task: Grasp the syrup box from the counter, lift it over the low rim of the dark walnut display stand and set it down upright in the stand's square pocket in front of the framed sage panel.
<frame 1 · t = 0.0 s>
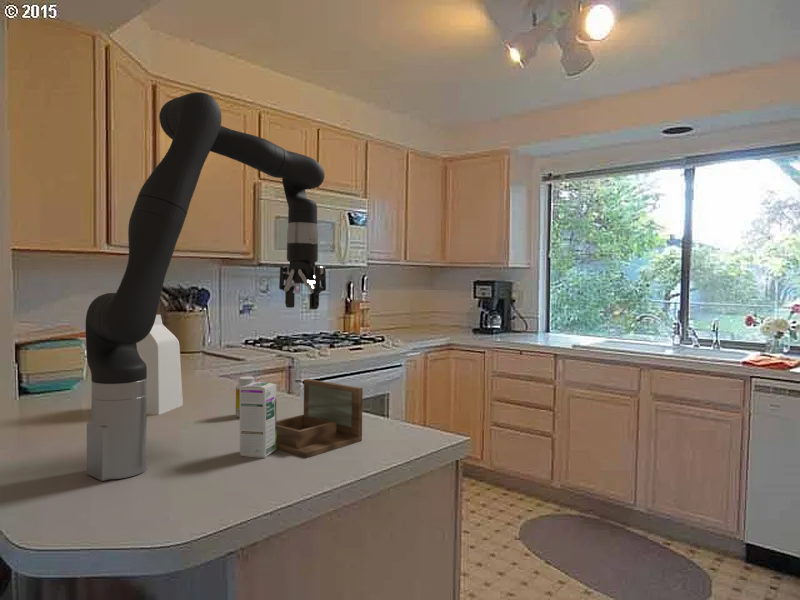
hand: (301, 308, 141), 29 cm above the countertop, fingers open, 8 cm apart
display stand: (301, 442, 127), on the countertop
supplement bottle: (246, 416, 152), on the countertop
syrup box: (258, 454, 119), on the countertop
milk: (152, 409, 159), on the countertop
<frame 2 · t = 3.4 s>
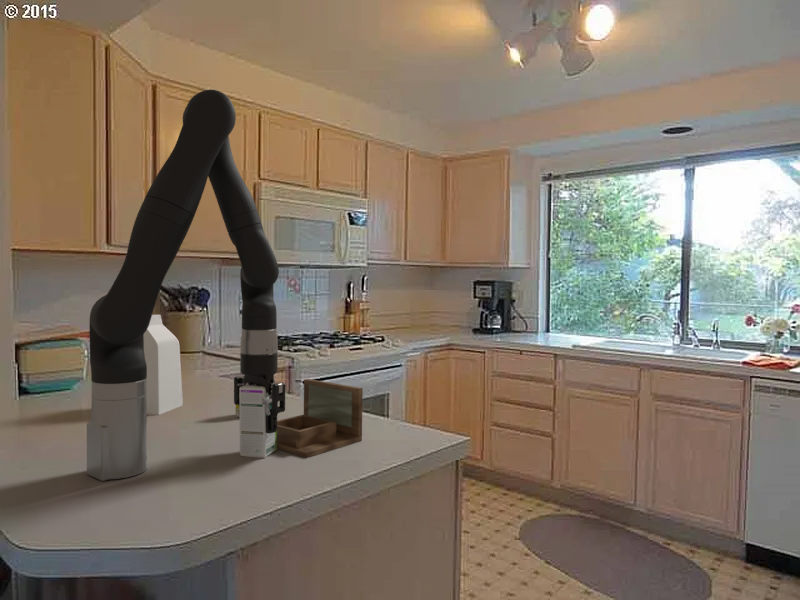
hand: (258, 429, 119), 5 cm above the countertop, fingers closed on syrup box, 7 cm apart
syrup box: (258, 454, 119), on the countertop, touching gripper
everything else where it was.
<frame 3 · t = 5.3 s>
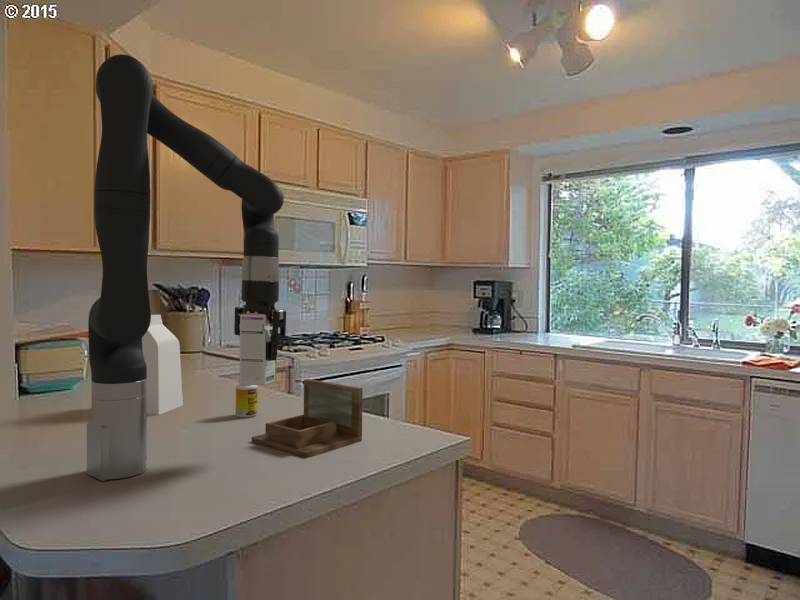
hand: (258, 358, 119), 20 cm above the countertop, fingers closed on syrup box, 7 cm apart
syrup box: (257, 383, 119), point 15 cm above the countertop, touching gripper
everything else where it was.
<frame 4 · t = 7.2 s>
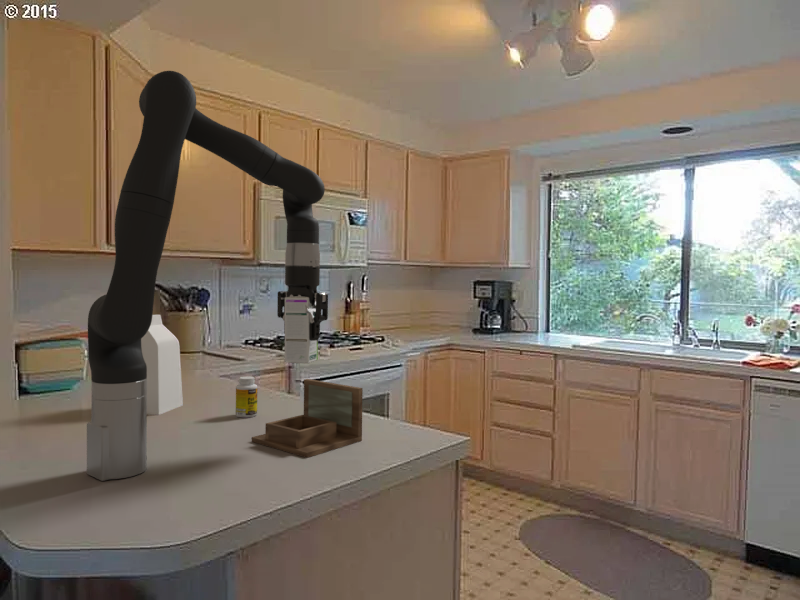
hand: (301, 338, 127), 23 cm above the countertop, fingers closed on syrup box, 7 cm apart
syrup box: (301, 362, 127), point 18 cm above the countertop, touching gripper
everything else where it was.
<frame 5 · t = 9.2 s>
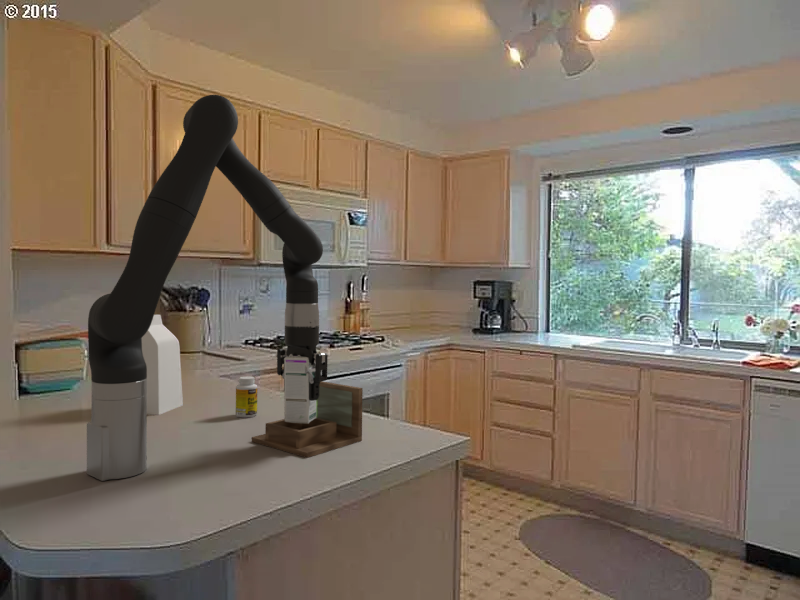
hand: (301, 397, 127), 10 cm above the countertop, fingers closed on syrup box, 7 cm apart
syrup box: (300, 421, 127), point 5 cm above the countertop, touching gripper
everything else where it was.
when the fingers open (8 cm above the countertop, at t = 10.9 s): syrup box drops 2 cm, resting on display stand.
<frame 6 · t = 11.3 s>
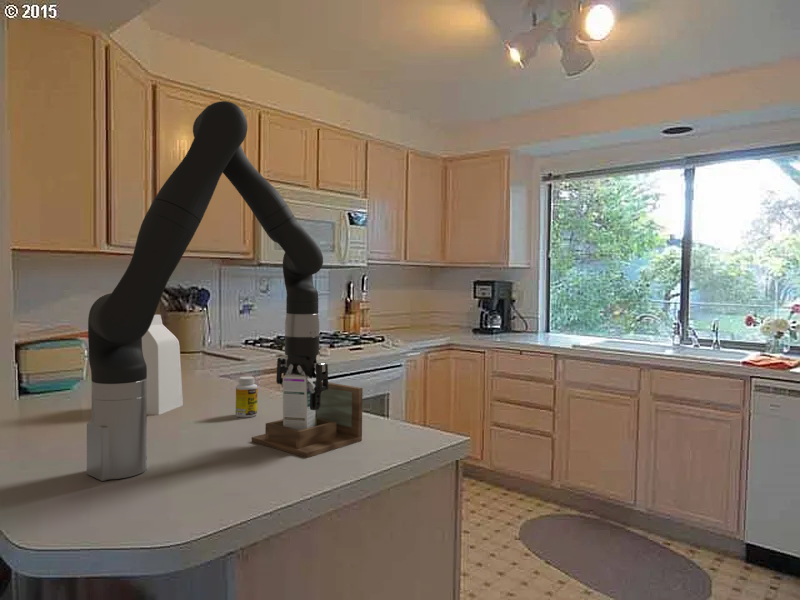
hand: (301, 406, 127), 8 cm above the countertop, fingers open, 8 cm apart
syrup box: (299, 439, 127), point 1 cm above the countertop, touching display stand
everything else where it was.
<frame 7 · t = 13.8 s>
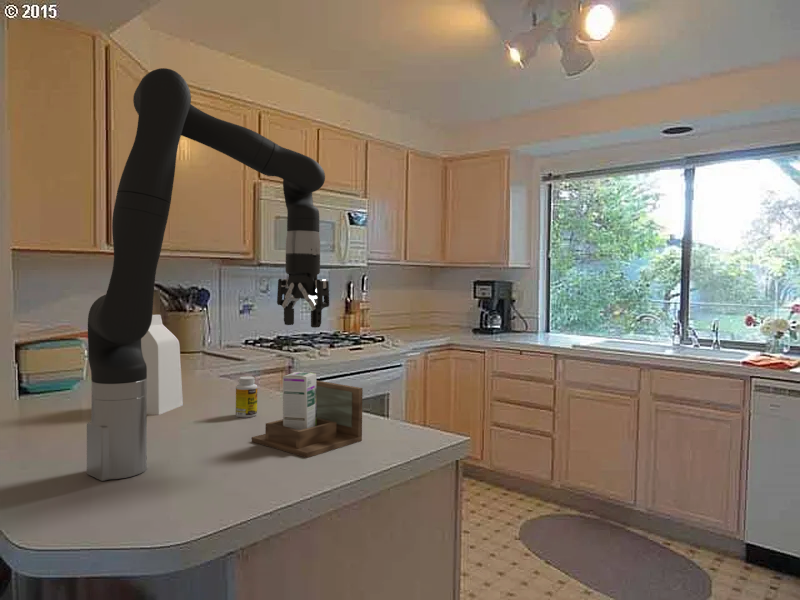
hand: (302, 326, 127), 26 cm above the countertop, fingers open, 8 cm apart
nothing on the countertop moved.
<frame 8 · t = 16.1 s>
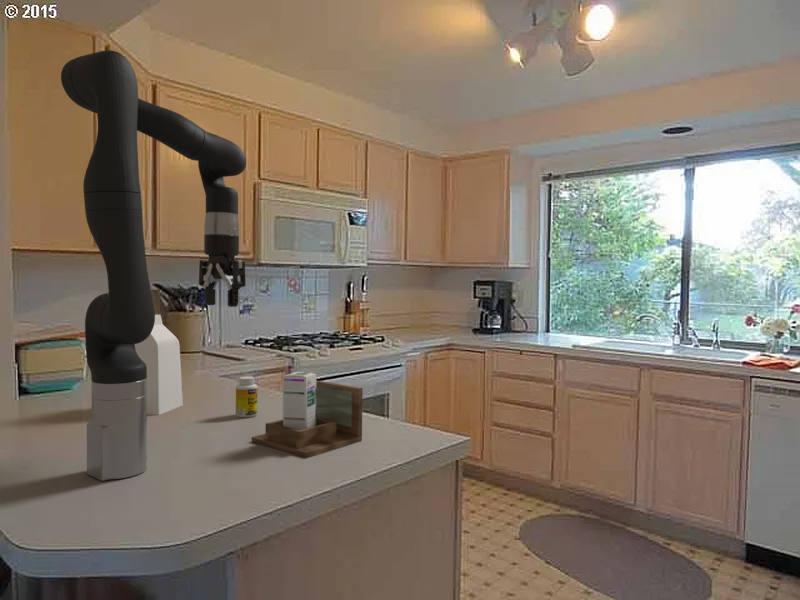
hand: (221, 305, 130), 30 cm above the countertop, fingers open, 8 cm apart
nothing on the countertop moved.
at the end: syrup box 0.3 cm off-centre on the display stand, point 0.8 cm above the display stand's base; syrup box tilted 0°; the gripper is holding nothing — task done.
